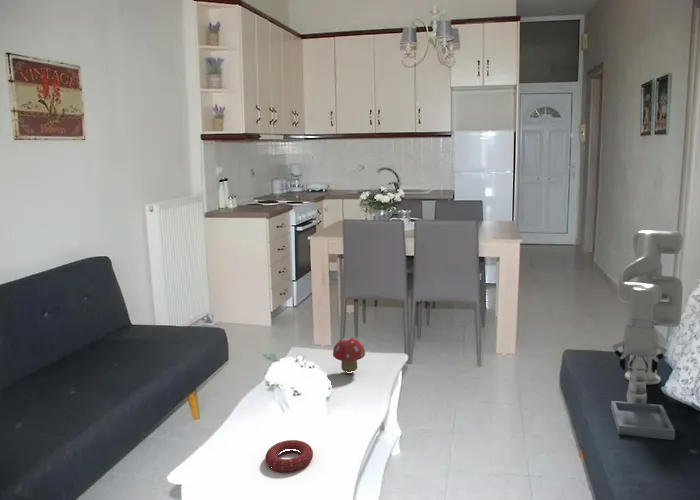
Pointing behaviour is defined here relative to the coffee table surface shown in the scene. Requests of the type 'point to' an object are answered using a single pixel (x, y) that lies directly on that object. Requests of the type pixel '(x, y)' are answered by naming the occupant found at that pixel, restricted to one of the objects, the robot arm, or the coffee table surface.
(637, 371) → the plastic bottle
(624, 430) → the tray
